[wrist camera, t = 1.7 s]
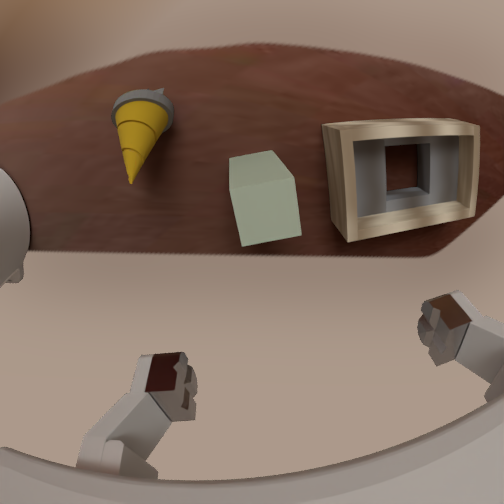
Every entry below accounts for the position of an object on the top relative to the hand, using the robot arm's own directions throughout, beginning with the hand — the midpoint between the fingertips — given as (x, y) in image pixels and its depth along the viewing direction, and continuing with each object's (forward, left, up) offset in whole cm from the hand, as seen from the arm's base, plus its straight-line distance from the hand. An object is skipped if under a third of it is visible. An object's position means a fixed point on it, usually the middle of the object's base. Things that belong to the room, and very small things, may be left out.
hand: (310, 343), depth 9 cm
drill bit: (-8, +7, -21) cm, 24 cm away
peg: (0, 0, -21) cm, 21 cm away
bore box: (+15, -1, -21) cm, 26 cm away
